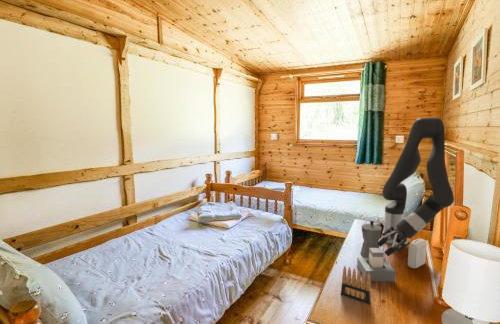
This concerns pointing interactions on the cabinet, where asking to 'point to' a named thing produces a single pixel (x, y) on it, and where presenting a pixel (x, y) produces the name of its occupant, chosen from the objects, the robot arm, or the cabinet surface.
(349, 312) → the cabinet surface
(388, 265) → the socket holder
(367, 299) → the ammunition clip
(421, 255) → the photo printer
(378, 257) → the connector plug
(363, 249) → the coffeepot
